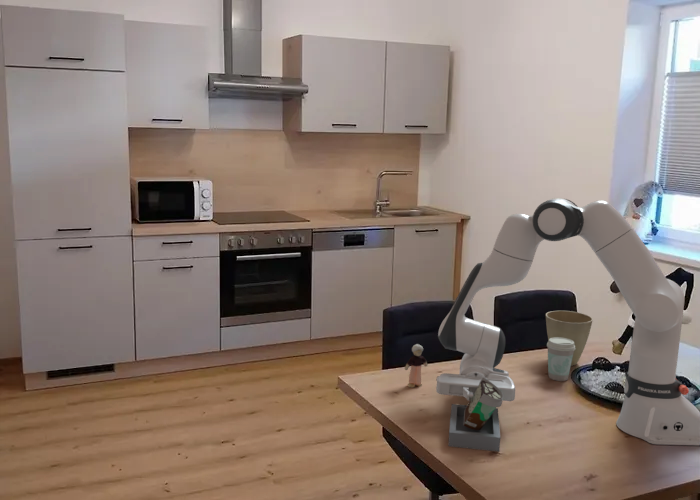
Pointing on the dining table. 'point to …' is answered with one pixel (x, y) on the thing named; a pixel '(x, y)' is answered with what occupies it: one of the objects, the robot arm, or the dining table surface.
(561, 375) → the coffee cup
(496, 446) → the tray
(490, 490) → the dining table surface
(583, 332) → the plant pot
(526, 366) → the dining table surface
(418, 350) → the grandmother figurine
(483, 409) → the food container
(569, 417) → the dining table surface
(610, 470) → the dining table surface
